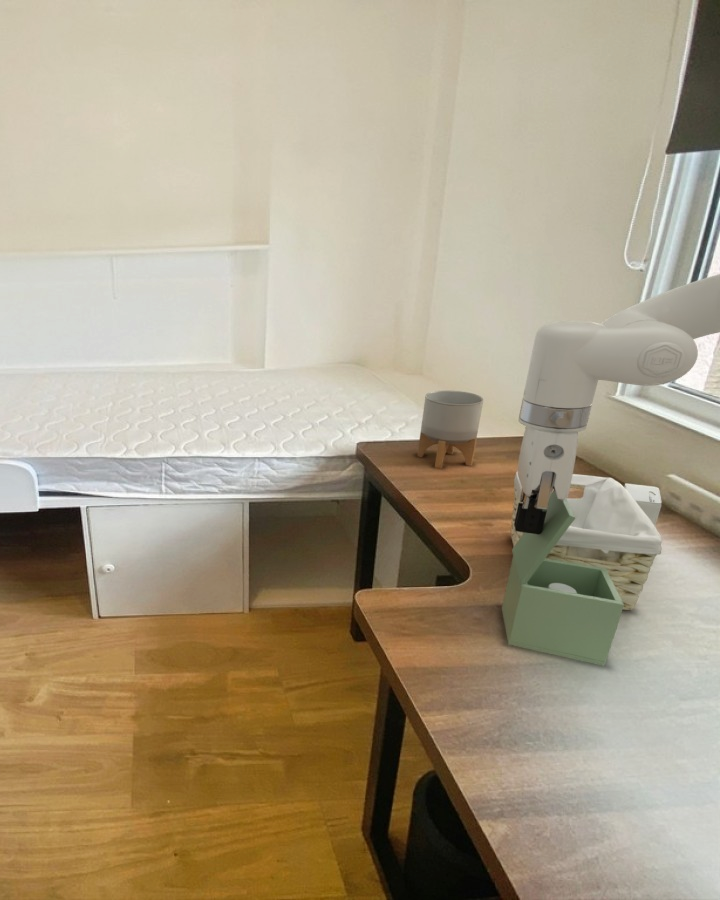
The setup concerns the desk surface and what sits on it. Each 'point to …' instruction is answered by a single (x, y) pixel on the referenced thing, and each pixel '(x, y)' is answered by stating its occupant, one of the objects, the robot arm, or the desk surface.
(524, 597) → the chest
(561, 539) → the basket
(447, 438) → the planter
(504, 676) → the desk surface
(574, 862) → the desk surface
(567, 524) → the lid
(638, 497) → the ink box
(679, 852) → the desk surface
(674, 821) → the desk surface
